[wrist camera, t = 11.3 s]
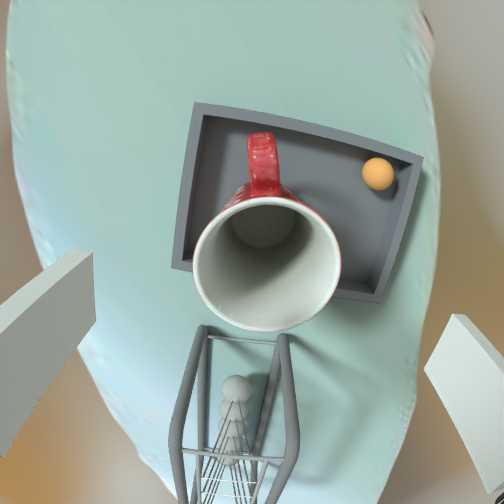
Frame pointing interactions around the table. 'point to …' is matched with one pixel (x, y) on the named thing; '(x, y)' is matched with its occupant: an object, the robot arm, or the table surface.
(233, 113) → the tray
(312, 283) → the mug
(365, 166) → the ball
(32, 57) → the table surface
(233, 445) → the newton's cradle
